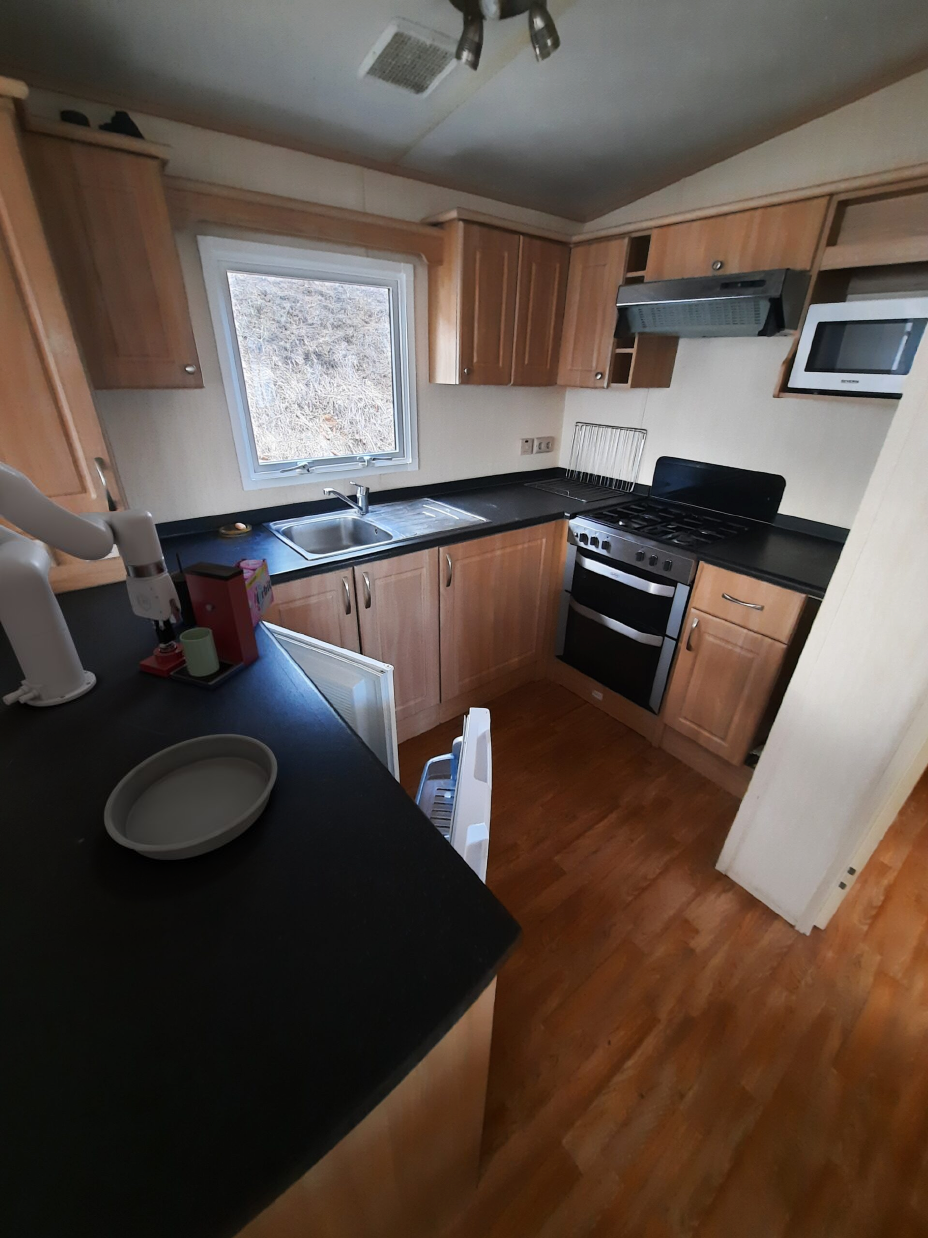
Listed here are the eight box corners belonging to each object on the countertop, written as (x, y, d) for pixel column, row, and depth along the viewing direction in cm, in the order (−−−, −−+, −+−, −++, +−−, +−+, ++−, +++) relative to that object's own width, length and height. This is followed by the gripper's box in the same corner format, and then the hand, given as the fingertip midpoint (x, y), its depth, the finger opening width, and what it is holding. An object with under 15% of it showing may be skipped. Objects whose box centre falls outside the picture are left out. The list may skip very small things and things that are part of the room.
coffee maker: (212, 690, 111) (189, 593, 101) (170, 678, 115) (143, 584, 105) (260, 657, 124) (243, 568, 114) (220, 648, 128) (200, 561, 117)
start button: (168, 655, 117) (166, 648, 116) (157, 652, 118) (155, 645, 117) (179, 648, 120) (177, 642, 119) (169, 646, 121) (167, 639, 120)
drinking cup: (196, 629, 136) (179, 558, 128) (171, 626, 138) (153, 556, 129) (214, 617, 143) (199, 549, 134) (190, 614, 145) (174, 547, 136)
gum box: (250, 598, 155) (242, 556, 149) (276, 598, 155) (269, 556, 149) (218, 635, 133) (208, 588, 127) (249, 635, 134) (240, 588, 128)
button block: (167, 677, 115) (163, 662, 113) (141, 670, 118) (136, 656, 116) (201, 657, 124) (198, 642, 122) (176, 651, 126) (173, 636, 124)
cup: (204, 678, 112) (195, 643, 108) (182, 673, 114) (172, 637, 110) (225, 664, 117) (218, 630, 113) (204, 659, 119) (196, 625, 115)
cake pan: (168, 750, 94) (162, 731, 92) (300, 755, 93) (297, 735, 91) (72, 868, 72) (61, 845, 69) (244, 875, 71) (238, 852, 69)
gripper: (105, 569, 109) (129, 643, 117) (157, 578, 104) (179, 655, 113) (136, 558, 115) (157, 629, 123) (186, 566, 111) (205, 639, 119)
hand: (167, 641), depth 118 cm, fingers closed
